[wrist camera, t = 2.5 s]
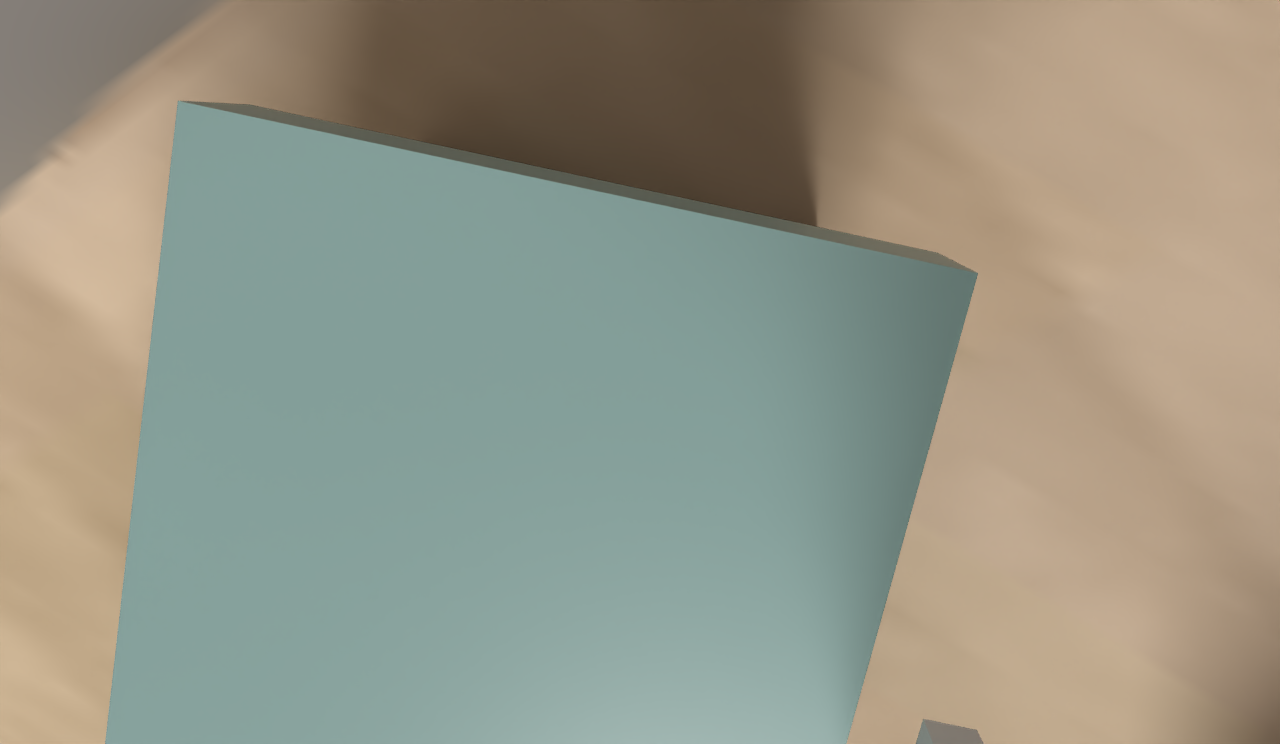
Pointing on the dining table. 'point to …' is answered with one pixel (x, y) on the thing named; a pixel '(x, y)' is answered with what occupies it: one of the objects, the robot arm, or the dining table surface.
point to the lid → (510, 452)
